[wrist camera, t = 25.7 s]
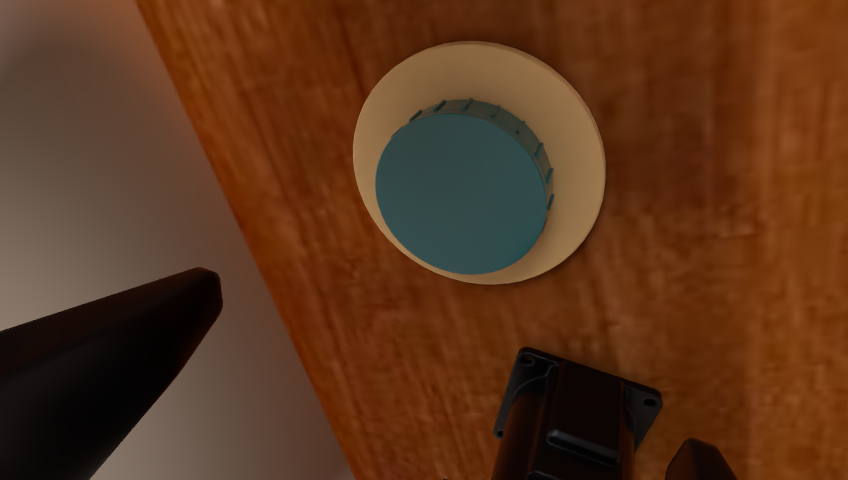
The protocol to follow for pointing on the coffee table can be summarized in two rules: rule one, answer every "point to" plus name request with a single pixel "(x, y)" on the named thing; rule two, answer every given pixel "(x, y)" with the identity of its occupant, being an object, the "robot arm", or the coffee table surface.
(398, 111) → the coaster
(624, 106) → the coffee table surface
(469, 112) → the jar lid
